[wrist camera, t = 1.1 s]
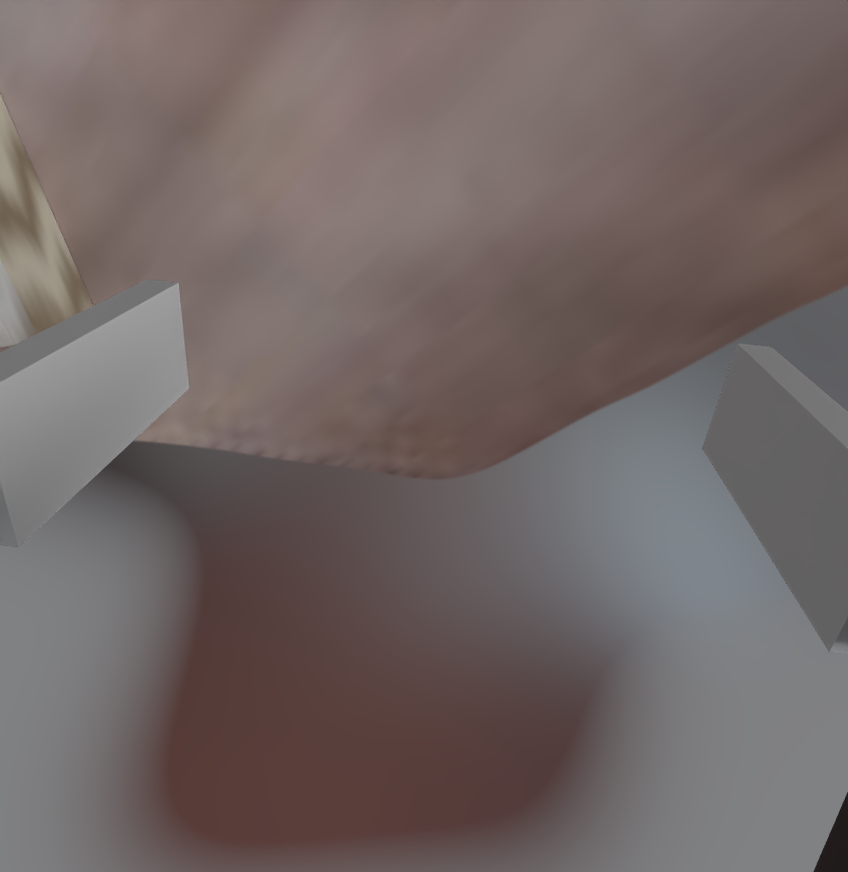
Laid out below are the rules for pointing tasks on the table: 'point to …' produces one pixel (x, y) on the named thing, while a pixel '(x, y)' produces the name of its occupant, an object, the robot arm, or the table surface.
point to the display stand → (31, 250)
